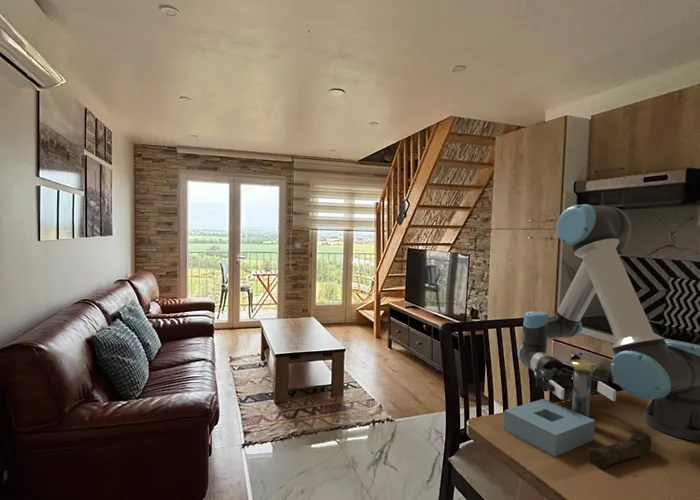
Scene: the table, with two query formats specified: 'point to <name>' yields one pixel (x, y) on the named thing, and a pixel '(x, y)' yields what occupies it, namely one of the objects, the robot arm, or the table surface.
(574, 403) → the pin
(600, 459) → the dark brown wooden club
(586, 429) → the socket block
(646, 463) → the table surface
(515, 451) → the table surface
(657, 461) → the table surface
